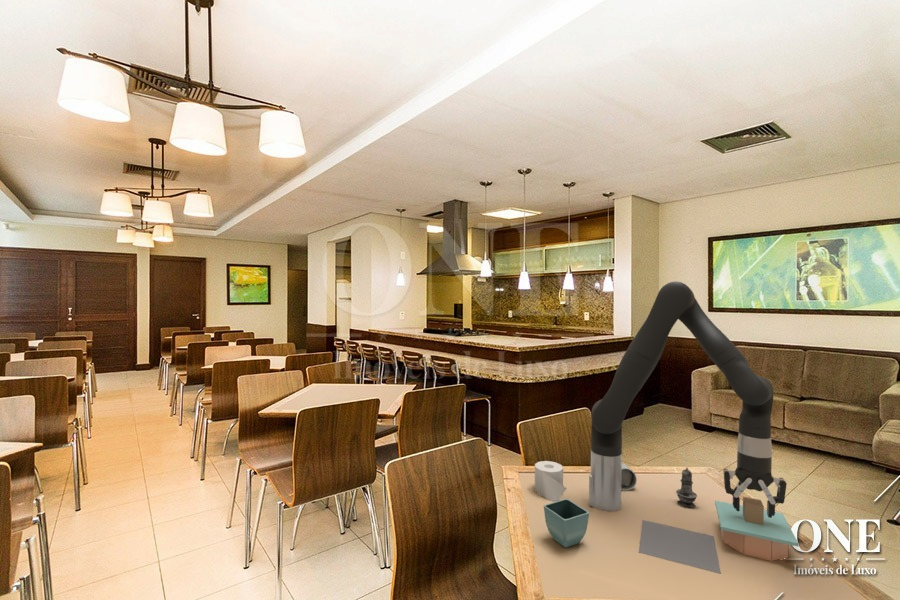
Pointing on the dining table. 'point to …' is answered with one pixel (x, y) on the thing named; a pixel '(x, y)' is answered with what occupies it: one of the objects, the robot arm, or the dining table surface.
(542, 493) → the toilet tissue
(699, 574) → the dining table surface
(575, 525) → the flower pot
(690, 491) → the dark grey chess piece
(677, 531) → the mat
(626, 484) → the ceramic mug
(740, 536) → the bowl
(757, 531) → the lid
